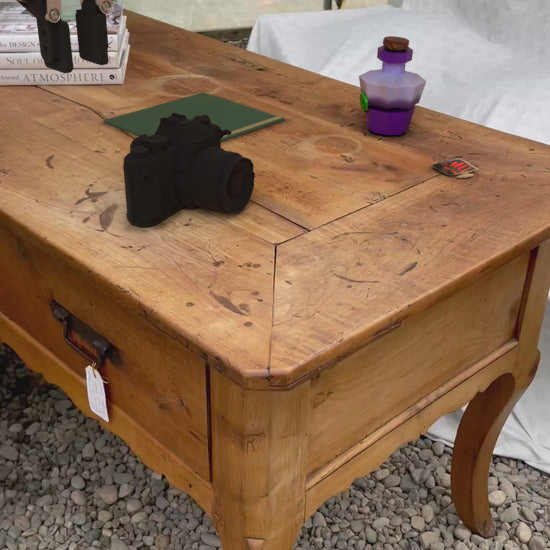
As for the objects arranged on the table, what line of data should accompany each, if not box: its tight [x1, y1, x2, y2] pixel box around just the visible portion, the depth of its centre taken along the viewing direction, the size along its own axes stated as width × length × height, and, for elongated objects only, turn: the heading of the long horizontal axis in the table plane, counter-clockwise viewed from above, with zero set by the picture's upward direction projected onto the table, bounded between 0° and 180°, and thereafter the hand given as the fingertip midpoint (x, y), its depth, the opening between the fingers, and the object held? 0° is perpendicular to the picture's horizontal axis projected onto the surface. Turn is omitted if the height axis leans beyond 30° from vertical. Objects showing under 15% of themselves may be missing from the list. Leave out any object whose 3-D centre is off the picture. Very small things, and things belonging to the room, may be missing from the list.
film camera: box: [122, 113, 256, 228], centre depth 79 cm, size 15×10×9 cm, turn 150°
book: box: [103, 92, 285, 143], centre depth 104 cm, size 18×16×1 cm
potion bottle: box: [358, 35, 427, 138], centre depth 100 cm, size 9×9×12 cm
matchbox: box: [431, 157, 479, 179], centre depth 91 cm, size 5×5×1 cm
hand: (76, 63), depth 64 cm, fingers closed
